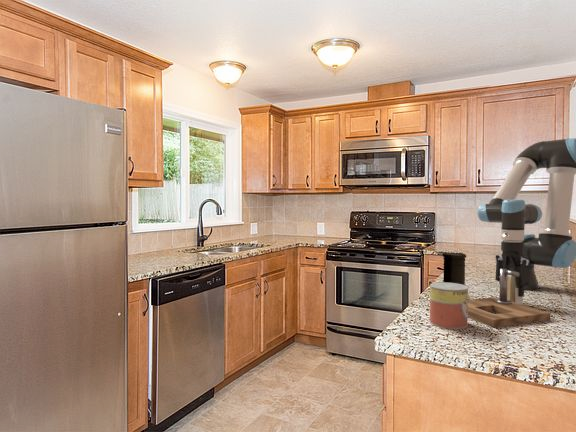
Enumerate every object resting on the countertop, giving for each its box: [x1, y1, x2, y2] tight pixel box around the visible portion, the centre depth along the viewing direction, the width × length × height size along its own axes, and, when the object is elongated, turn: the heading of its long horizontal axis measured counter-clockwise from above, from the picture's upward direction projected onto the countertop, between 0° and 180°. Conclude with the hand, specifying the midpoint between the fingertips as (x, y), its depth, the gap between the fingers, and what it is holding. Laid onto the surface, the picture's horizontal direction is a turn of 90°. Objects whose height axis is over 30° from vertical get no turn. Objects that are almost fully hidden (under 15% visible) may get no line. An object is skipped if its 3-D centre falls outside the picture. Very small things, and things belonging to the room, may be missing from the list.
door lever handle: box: [495, 268, 520, 304], centre depth 142 cm, size 5×8×12 cm, turn 17°
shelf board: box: [468, 296, 551, 329], centre depth 138 cm, size 23×22×2 cm
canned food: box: [429, 281, 469, 330], centre depth 129 cm, size 11×11×12 cm
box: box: [507, 275, 517, 302], centre depth 151 cm, size 5×4×11 cm
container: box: [442, 252, 467, 285], centre depth 158 cm, size 9×9×18 cm
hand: (511, 302), depth 152 cm, fingers closed on box, 6 cm apart
